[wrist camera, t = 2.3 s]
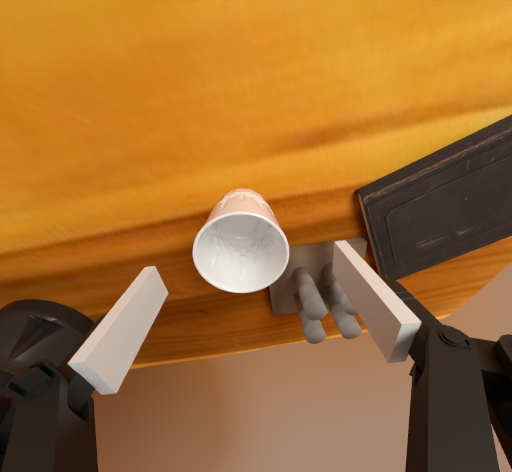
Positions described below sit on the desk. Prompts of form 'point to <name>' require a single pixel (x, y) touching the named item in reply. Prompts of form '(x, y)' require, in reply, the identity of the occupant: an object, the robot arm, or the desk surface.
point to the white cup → (241, 244)
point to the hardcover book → (442, 203)
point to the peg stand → (315, 290)
